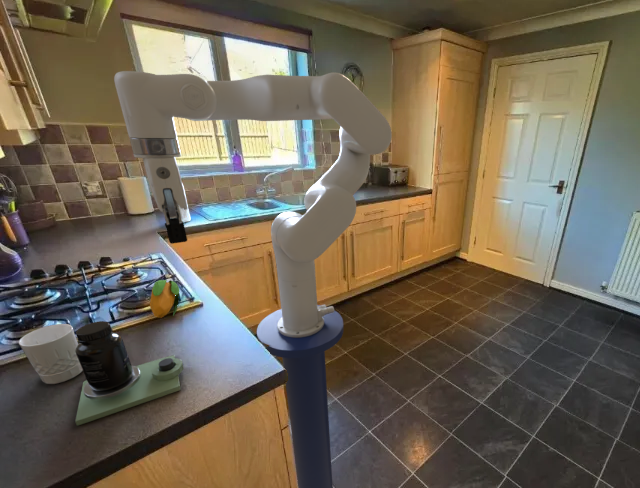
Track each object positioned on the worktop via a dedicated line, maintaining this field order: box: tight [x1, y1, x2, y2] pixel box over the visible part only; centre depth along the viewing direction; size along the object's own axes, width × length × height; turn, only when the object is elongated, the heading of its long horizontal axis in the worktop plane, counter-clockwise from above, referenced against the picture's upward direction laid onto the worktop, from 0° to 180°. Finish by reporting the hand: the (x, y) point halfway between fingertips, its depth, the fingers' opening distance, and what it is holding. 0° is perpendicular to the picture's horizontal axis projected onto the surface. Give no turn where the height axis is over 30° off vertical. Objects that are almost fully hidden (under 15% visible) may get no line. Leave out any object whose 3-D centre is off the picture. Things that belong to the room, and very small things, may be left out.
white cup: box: [18, 323, 83, 385], centre depth 68 cm, size 8×8×10 cm
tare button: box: [159, 358, 175, 372], centre depth 69 cm, size 3×3×2 cm
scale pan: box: [83, 365, 141, 400], centre depth 64 cm, size 9×9×1 cm
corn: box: [149, 279, 180, 319], centre depth 94 cm, size 7×8×20 cm
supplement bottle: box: [75, 320, 133, 391], centre depth 62 cm, size 7×7×12 cm
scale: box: [74, 354, 184, 426], centre depth 67 cm, size 17×12×2 cm
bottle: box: [179, 183, 192, 223], centre depth 179 cm, size 8×8×30 cm
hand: (178, 241), depth 69 cm, fingers closed
